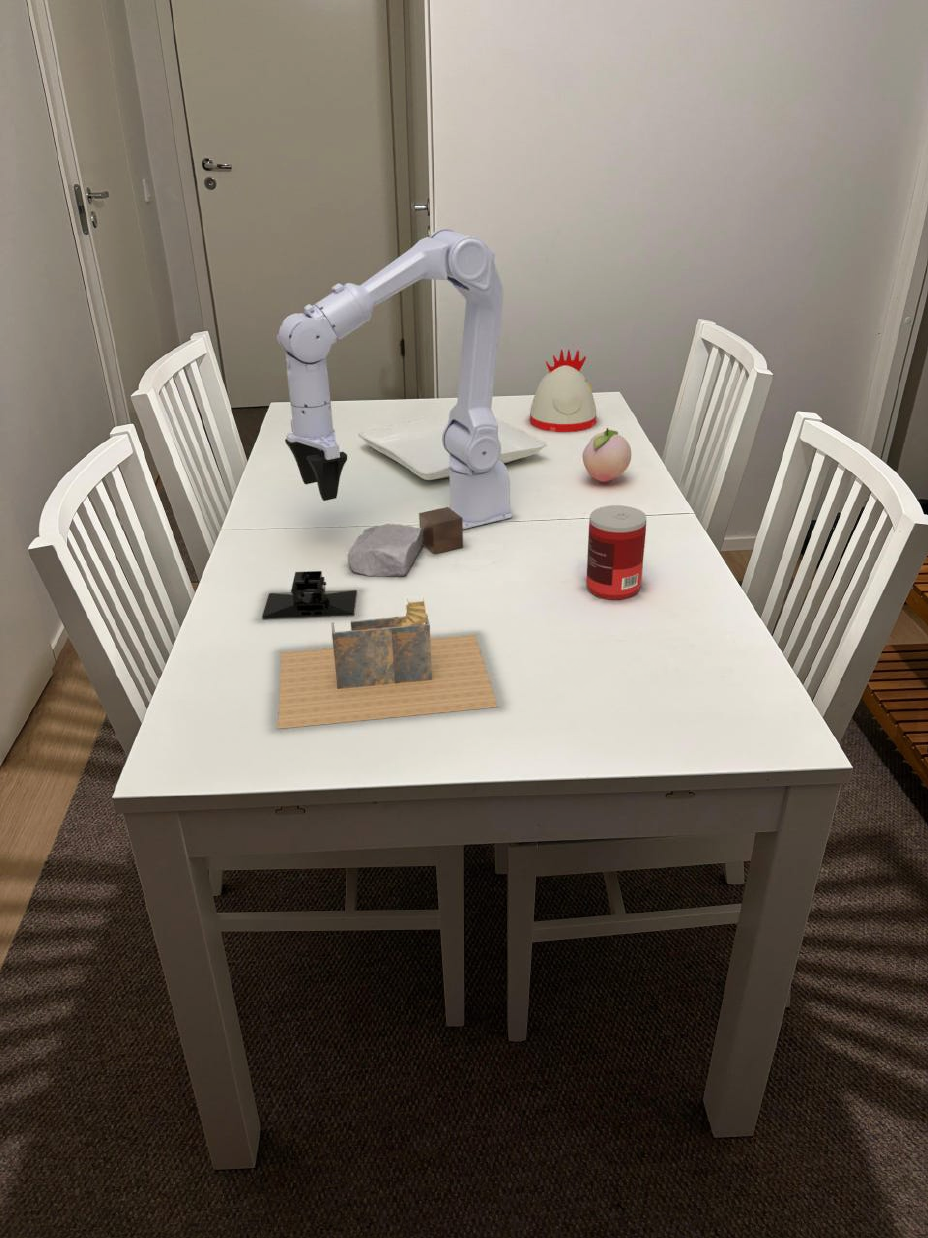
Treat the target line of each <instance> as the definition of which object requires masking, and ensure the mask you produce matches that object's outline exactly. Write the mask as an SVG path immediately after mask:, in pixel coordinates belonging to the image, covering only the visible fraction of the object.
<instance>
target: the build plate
mask: <svg viewBox="0 0 928 1238" xmlns="http://www.w3.org/2000/svg"><path fill="white" fill-rule="evenodd" d="M294 572H295V573H294V576H293V580H292V584H291V589H290V591H288V592H287V591H285V592H283V591H282V592H269V593H268V595H267V598H266V602H265V605H264V609H263V612H262V616H261V619H262V620H284V619H285V620H286V619H313V618H339V617H341V618H342V617H343V618H344V617H346V618H347V617H355V612H356V606H357V605H356V604H357V596H358V589H344V590H326V586H327V582H326V580H325V579H326V578H325V576H323V571H322V570H313V571H311V570H310V571H309V570H308V571H294Z"/></svg>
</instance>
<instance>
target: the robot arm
mask: <svg viewBox="0 0 928 1238" xmlns="http://www.w3.org/2000/svg"><path fill="white" fill-rule="evenodd" d="M495 256H496V254H495V252H494V251H493V250H492V249H491V248H490V247H489V246H488V245H487V244H486V243H485V241H484V240H482V239H481V238H480V237H478V236H476V235H475V236H474V235H467V234H464V233H459V232H456V231H454V230H452V229H449V228H440V229H438V230H435V231H434V232H433V233H432V234H430V235H429V236H425V237H424V238H421V239H419V240H418V241H417V242H415V244H414V245H413V246H412V247H411V248H409V249H408V250H407V251H405V252H403V254H401V255H400V256H398V257H397V258H396V259H395V260H393V261H392V262H390V263H389V264H388V265H386V266H385V267H384V268H382V269H381V270H379V271H378V272H376V273H375V274H374V275H372V276H371V277H370V278H369V279H367V280H366V281H364V282H363V283H361V284H360V285H358V284H355V283H352V282H347V283H345V284H344V285H343V284H341V283H336V284H335V285H333V286H331V290H332V292H331V293H329V294H328V295H327V296H325V297H323V298H322V299H321V300H319V301H318V302H315V303H314V304H313V305H311V304H310V303H309V304H307V305H305V306H304V307H303V310H304V313H301V312H300V313H292V314H289V315H288V316H287V317H286V318H284V320H283V321H282V324H281V325H280V326H279V331H278V334H277V336H276V339H277V342H278V344H279V345H280V347H281V348H282V349H283V350H284V351H285V363H286V376H287V385H288V394H289V402H290V409H291V410H290V411H291V419H290V427H291V433H288V434H286V435H285V436H286V438H285V440H284V442H285V444H286V445H287V447H288V448H289V450H290V452H291V454H292V456H293V457H294V458H293V459H294V460H295V462H296V466H297V468H298V471H299V474H300V477H301V480H302V482H303V484H304V485H310V484H311V485H312V484H314V483H317V487H318V492H319V495H320V497H321V500H322V501H323V502H327V501H332V500H337V498H338V494H339V486H340V480H341V475H342V472H343V469H344V467H345V464H346V462H347V461H348V454H347V453H346V452H345V451H341V450H340V443H338V442H337V438H336V437H337V436H336V430H335V428H334V422H333V410H332V402H331V401H332V400H331V392H330V391H331V389H330V380H329V371H328V365H327V356H328V355H329V353H330V351H331V349H332V345H334V344H336V343H337V342H339V341H340V340H342V339H343V338H345V337H346V336H348V335H349V334H351V333H353V332H354V331H355V330H357V329H359V328H360V327H362V326H363V325H364V324H366V323H367V322H369V321H370V320H371V318H372V316H373V313H374V312H373V311H374V308H375V307H376V306H378V305H379V304H381V303H383V302H384V301H386V300H387V299H390V298H391V297H392V296H394V295H396V294H397V293H400V292H401V291H404V290H405V289H406V288H408V287H411V286H412V285H413V284H416V283H417V282H418V281H420V280H438V281H448V282H450V283H451V284H452V285H453V286H454V288H455V289H456V290H457V291H458V292H459V293H460V294H461V296H462V297H463V298H464V299H465V311H464V323H463V331H462V344H461V355H460V356H461V357H460V367H459V376H458V377H459V378H458V389H457V390H458V391H457V401H456V404H455V405H454V407H452V409H450V411H449V413H448V414H449V421H448V424H447V426H446V427H445V429H444V431H443V435H442V444H443V446H444V448H445V450H446V451H447V452H448V453H449V455H450V461H449V476H450V477H449V504H450V505H449V508H450V509H451V510H453V511H454V512H455V513H457V514H458V515H459V516H461V517H462V521H463V530H467V529H471V528H474V527H478V526H483V525H487V524H491V523H495V522H498V521H503V520H507V519H511V518H513V514H512V513H510V512H511V511H510V510H511V506H510V503H511V481H510V474H509V470H508V468H507V466H506V465H505V464H504V463H503V462H501V461H500V460H499V458H500V455H501V444H500V442H499V439H498V424H497V421H496V419H497V418H496V416H495V414H494V412H493V410H492V407H493V405H492V404H493V397H494V396H493V394H494V387H495V377H496V366H497V357H498V347H499V339H500V338H499V337H500V329H501V320H502V319H501V318H502V311H503V301H504V287H503V284H502V281H501V278H500V275H499V272H498V269H497V267H496V264H495V258H496V257H495ZM495 418H496V419H495Z"/></svg>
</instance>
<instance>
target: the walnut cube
mask: <svg viewBox="0 0 928 1238" xmlns="http://www.w3.org/2000/svg"><path fill="white" fill-rule="evenodd" d="M418 518H419V519H418V520H419V522H418V524H419V528H422V530H423V545H422V546H424V547H425V548H426V549H427V550H429V551H430V552H431V553H432V554H433V555H438V554H442V553H447V552H451V551H454V550H458V549H463V548H464V529H463V521H462V517H461V516H459V515H458V514H457V513H455V512H454V511H453V510H451V509H450V506H445V507H441V508H436V509H431V510H426V511H423V512H418Z"/></svg>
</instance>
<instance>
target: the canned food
mask: <svg viewBox="0 0 928 1238" xmlns="http://www.w3.org/2000/svg"><path fill="white" fill-rule="evenodd" d="M588 519H589V522H588V540H587V559H586V577H585V579H586V580H585V584H586V586H587V589H588V591H589V592H590V593H591V594H592V595H594V596H596V597H598V598H601V599H605V600H625V599H628V598H630V597H633V596H634V595H636V594H637V593H638V592H639V590H640V588H641V586H642V578H643V577H642V576H643V568H644V567H643V565H644V555H645V546H646V545H645V544H646V533H647V515H646V513H645V512H644V511H642V510H640V509H638V508H637V507H633V506H629V505H620V504H614V505H605V506H601V507H598V508H596V509H594V510H592V511H591V512H590V514H589V518H588Z"/></svg>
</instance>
